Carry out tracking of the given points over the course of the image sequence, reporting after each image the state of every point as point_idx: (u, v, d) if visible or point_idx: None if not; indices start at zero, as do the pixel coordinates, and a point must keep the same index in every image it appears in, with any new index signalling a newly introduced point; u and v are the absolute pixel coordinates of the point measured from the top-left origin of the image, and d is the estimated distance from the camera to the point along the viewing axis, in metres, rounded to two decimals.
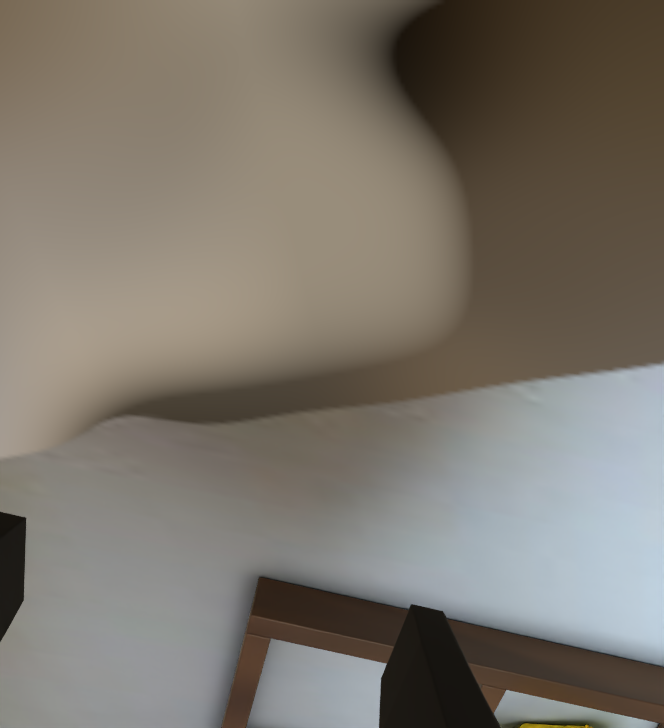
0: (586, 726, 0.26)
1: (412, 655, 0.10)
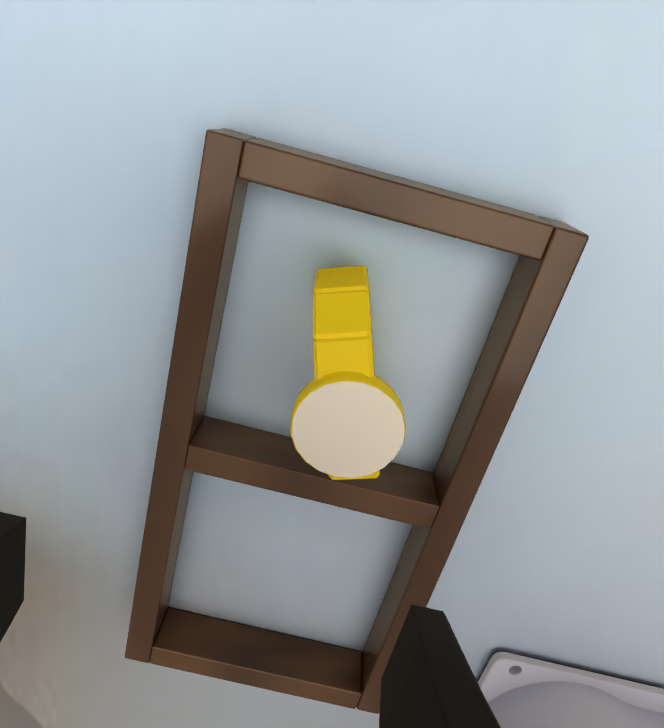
0: None
1: (412, 655, 0.10)
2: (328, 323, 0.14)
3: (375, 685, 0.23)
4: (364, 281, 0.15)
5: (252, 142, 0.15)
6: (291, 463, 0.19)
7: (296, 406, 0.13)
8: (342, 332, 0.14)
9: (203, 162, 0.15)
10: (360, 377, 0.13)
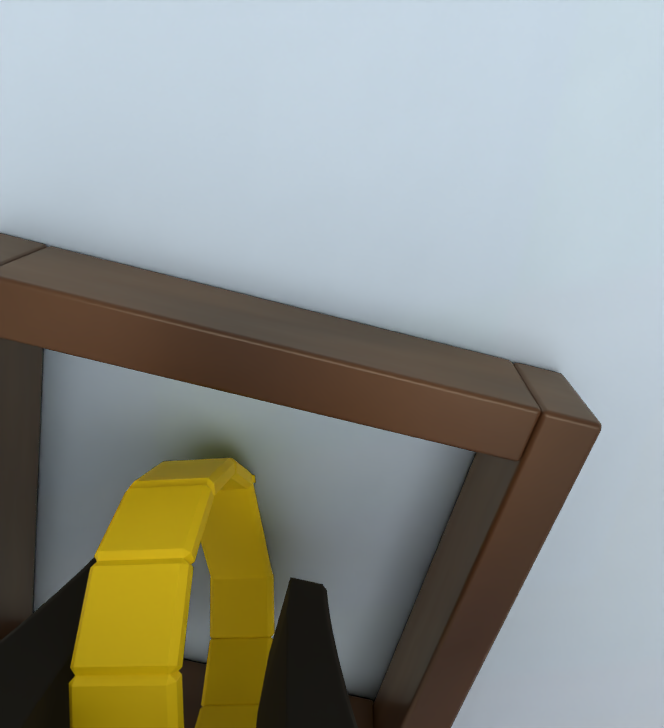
0: None
1: (281, 626, 0.09)
2: (100, 640, 0.07)
3: None
4: (189, 532, 0.08)
5: None
6: None
7: None
8: (123, 664, 0.07)
9: None
10: None
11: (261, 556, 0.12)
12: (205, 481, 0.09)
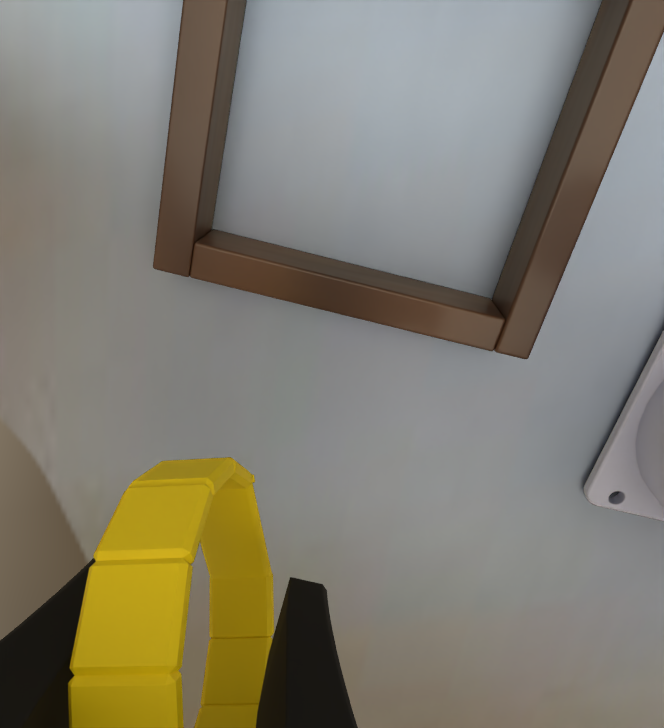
0: None
1: (281, 626, 0.09)
2: (100, 640, 0.07)
3: (529, 300, 0.15)
4: (188, 532, 0.08)
5: None
6: None
7: None
8: (122, 664, 0.07)
9: None
10: None
11: (260, 556, 0.12)
12: (204, 481, 0.09)
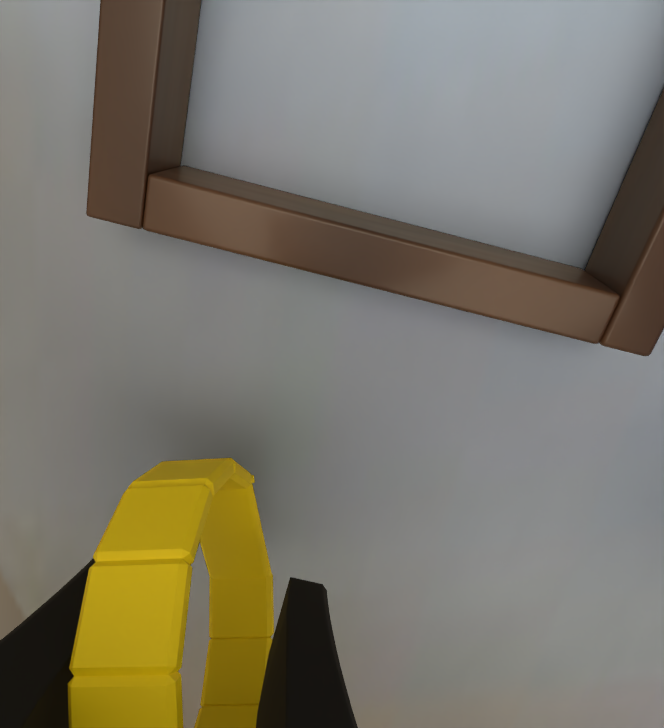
0: None
1: (281, 626, 0.09)
2: (99, 641, 0.07)
3: (660, 266, 0.10)
4: (188, 533, 0.08)
5: None
6: None
7: None
8: (122, 664, 0.07)
9: None
10: None
11: (260, 556, 0.12)
12: (204, 481, 0.09)
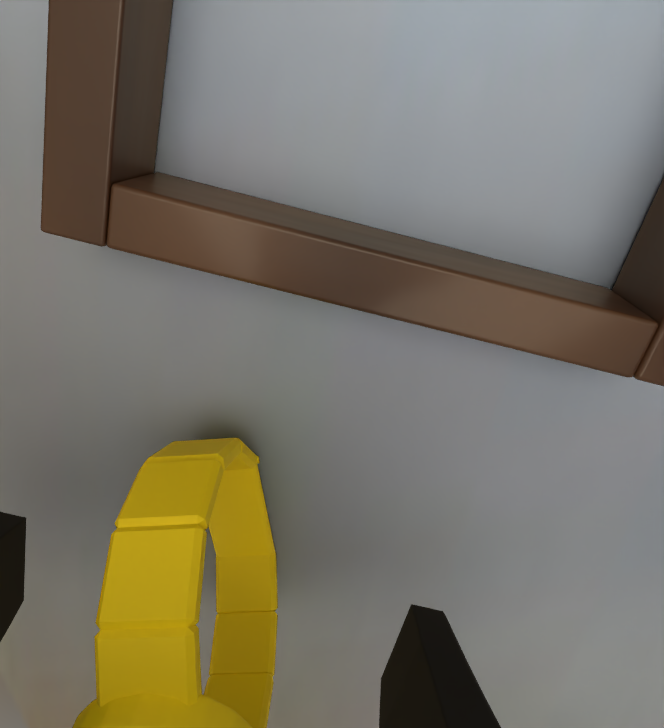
0: None
1: (412, 655, 0.10)
2: (123, 598, 0.08)
3: None
4: (202, 501, 0.09)
5: None
6: None
7: None
8: (145, 618, 0.08)
9: None
10: (167, 715, 0.07)
11: (265, 534, 0.13)
12: (215, 457, 0.10)
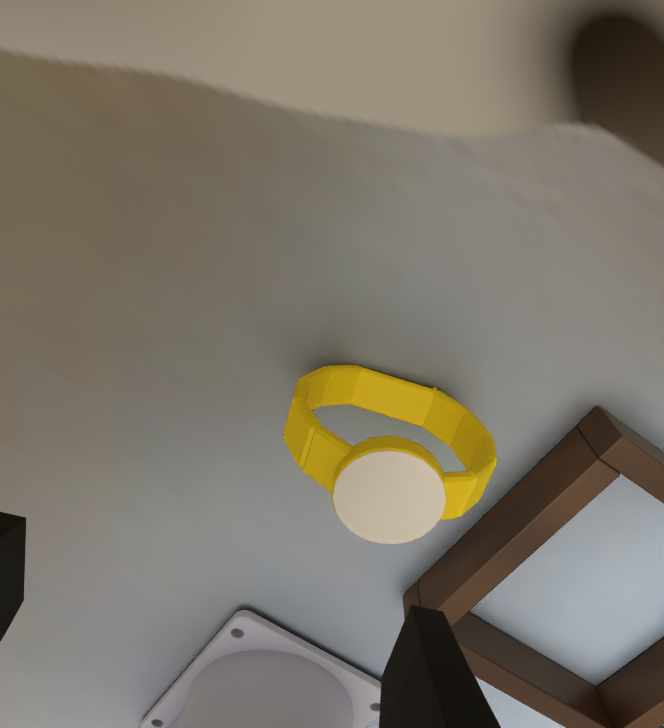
0: (434, 389, 0.19)
1: (412, 655, 0.10)
2: (478, 485, 0.15)
3: None
4: None
5: None
6: None
7: (434, 467, 0.13)
8: (468, 498, 0.15)
9: None
10: (434, 520, 0.14)
11: (368, 408, 0.19)
12: None
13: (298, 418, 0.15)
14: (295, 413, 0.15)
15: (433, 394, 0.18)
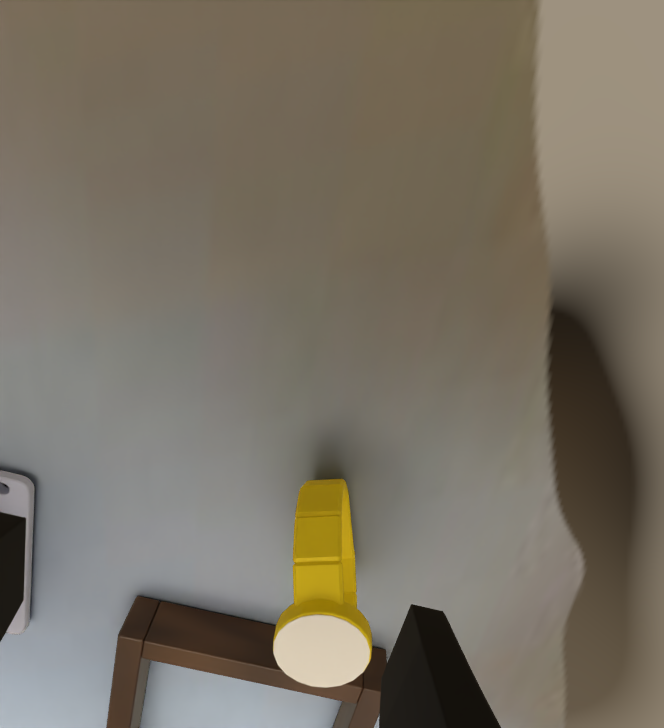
0: (354, 553, 0.22)
1: (412, 655, 0.10)
2: None
3: (129, 668, 0.22)
4: None
5: None
6: None
7: (365, 668, 0.16)
8: None
9: None
10: (313, 679, 0.17)
11: None
12: None
13: (330, 531, 0.17)
14: (331, 524, 0.17)
15: (351, 557, 0.21)
